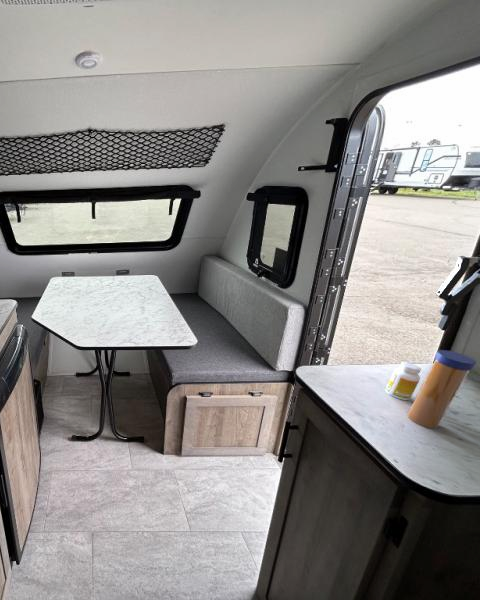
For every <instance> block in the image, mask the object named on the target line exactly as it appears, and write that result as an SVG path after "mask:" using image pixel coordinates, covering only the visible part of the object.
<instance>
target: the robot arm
mask: <svg viewBox="0 0 480 600" xmlns="http://www.w3.org/2000/svg"><path fill="white" fill-rule="evenodd" d="M476 263H477V265H478V266H479V269H478V270H476V271H475V272H474V273H473V274H472V275H471V276H470V277H468V278H467V279H466V280H465V281H464V282H462V283H461V284H460V285H459V286H457V287H456V288H455V286H456V285H457V284H458V283H459V282H460V280H461V279H462V278H463V276H465V274H466V272H467V271H468V269H469V268H471V267H473V265H475V264H476ZM479 285H480V254H479V255H478V256H465V255H460V256H459V257H457V261H456V265H455V267H454V268H453V269H452V271H451V272H450V274H449V275H448V276H447V277H446V279H445V280H444V282H443V283H442V284H441V285H440V287H439V288H438V290H437V291H436V293H435V295H436V296H437V297H438V298H439V299H441V300H443V303H442V305H441V307H440V309H439V314H440V316H442V317H441V319H440V322H439V323H438V325H437V327H438V328H439V329H440V331H444V332H447V330H448V328H449V326H450V325H451V322H452V320H453V319H454V316H456V315H455V314H456V313H457V310H458V309H459V307H460V304H459V303H457V302H458V301H459V300H461V299H462V298H463V297H464V296H466V295H467V294H469V293H470V292H471V291H472V290H474V289H475V288H476V287H478V286H479ZM454 288H455V289H454Z"/></svg>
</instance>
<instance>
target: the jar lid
mask: <svg viewBox="0 0 480 600" xmlns="http://www.w3.org/2000/svg"><path fill="white" fill-rule="evenodd" d="M434 359H435V360H437V361H438V362H440V363H442V364H444V365H447V366H450V367H453V368H456V369H461V370H469V371H473V370H474V368H475V367H476V364H477V361H476V360H475V359H473V358H471V357H470V356H468V355H465V354H463V353H459V352H455V351H452V350H446V349H438V350H437V351H436V354H435V356H434Z"/></svg>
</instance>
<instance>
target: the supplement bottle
mask: <svg viewBox="0 0 480 600" xmlns="http://www.w3.org/2000/svg"><path fill="white" fill-rule="evenodd" d="M421 370H422V368H421V367H420V366H418V365H416V364H414V363H411V362H406V361H402V362H401V363H400V365H399V367H398V368H395V369H394V370H393V372H392V373H391V377H390V379H389V381H388V382H387V385H386V388H385V392H386V393H387V394H388V395H390V396H392V397H394V398H396V399H399V400H402V401H410V399H411V398H412V396H413V394H414V392H415V390H416V388H417V386H418V384H419V383H420V380H421V376H420V375H419V374H420V372H421Z"/></svg>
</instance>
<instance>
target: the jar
mask: <svg viewBox="0 0 480 600" xmlns="http://www.w3.org/2000/svg"><path fill="white" fill-rule="evenodd" d="M469 372H470V370H461V369H456V368H453V367H450V366H447V365H444V364H442V363H440V362H438V361H437V360H436V359H435V360H434V362H433V363H432V366H431V368H430V369H429V372H427V373H428V374H427V375H426V377H425V379H424V381H423V384H422V385H421V387H420V389H419V391H418V393H417V394H416V397H415V399H414V400H413V402H412V405H411V407H410V408H409V410H408V412H407V414H406V415H407V419H409V420H410V421H412V422H413V423H415V424H417V425H419V426H422V427H424V428H428V429H437V428H438V427H439V425H440V423H441V422H442V419H443V418H444V417H445V414H446V413H447V411H448V409H449V407H450V405H451V404H452V403H453V400H454V399H455V397H456V395H457V393H458V391H459V390H460V388H461V386H462V384H463V383H464V381H465V379H466V377H467V376H468V374H469Z"/></svg>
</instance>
